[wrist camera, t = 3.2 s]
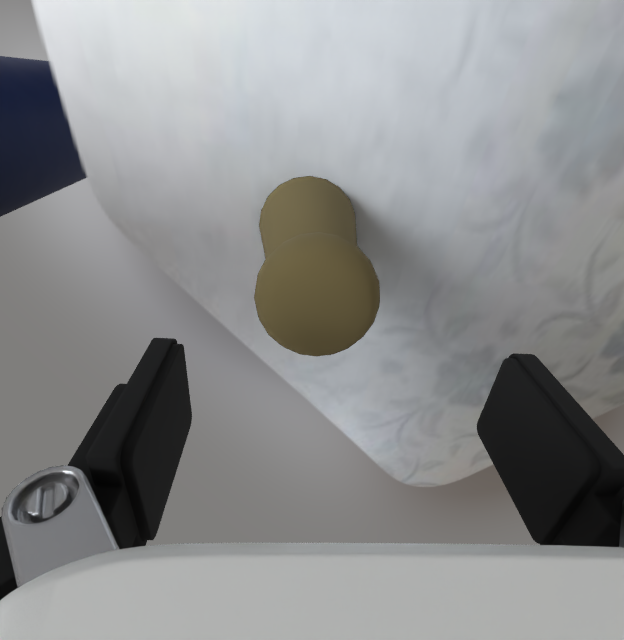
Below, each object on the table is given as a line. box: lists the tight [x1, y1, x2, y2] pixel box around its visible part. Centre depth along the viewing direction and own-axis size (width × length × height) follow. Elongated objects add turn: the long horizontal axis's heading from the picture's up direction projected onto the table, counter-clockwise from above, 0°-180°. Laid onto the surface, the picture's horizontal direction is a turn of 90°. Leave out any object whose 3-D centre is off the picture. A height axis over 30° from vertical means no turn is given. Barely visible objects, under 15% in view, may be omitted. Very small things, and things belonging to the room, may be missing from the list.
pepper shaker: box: [254, 176, 380, 356], centre depth 19 cm, size 6×6×11 cm
